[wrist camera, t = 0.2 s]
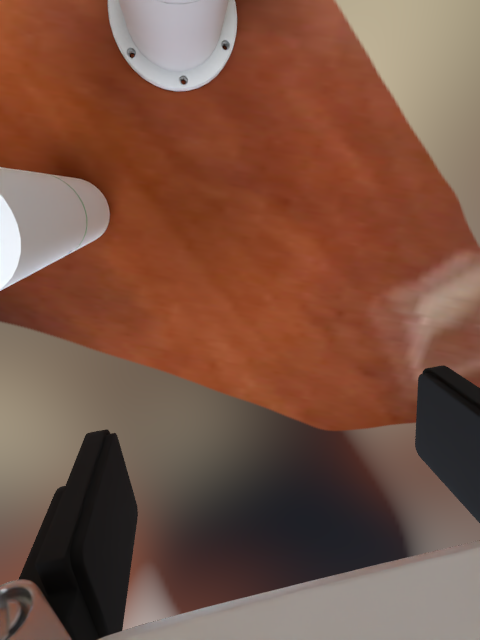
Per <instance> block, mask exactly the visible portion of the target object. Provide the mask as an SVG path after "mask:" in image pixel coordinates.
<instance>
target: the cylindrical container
mask: <svg viewBox="0 0 480 640" xmlns="http://www.w3.org/2000/svg"><path fill="white" fill-rule="evenodd" d="M109 219H110V211H109V206H108V203H107V200H106V199H105V197H104V195H103V194H102V193H101V191H100V190H99V189H98V188H97V187H96V186H94V185H93V184H91V183H90V182H88V181H85V180H82V179H78V178H72V177H65V176H58V175H51V174H44V173H37V172H30V171H23V170H16V169H9V168H2V167H0V291H1V290H3V289H5V288H6V287H8V286H10V285H12V284H14V283H16V282H18V281H19V280H21V279H23V278H25V277H27V276H29V275H31V274H33V273H34V272H36V271H38V270H40V269H42V268H44V267H46V266H48V265H49V264H51V263H53V262H55V261H57V260H59V259H61V258H62V257H64V256H66V255H68V254H70V253H72V252H74V251H76V250H77V249H79V248H81V247H83V246H85V245H87V244H89V243H91V242H92V241H94V240H96V239H98V238H99V237H100V236H101V235H102V234H103V233H104V232H105V230H106V228H107V227H108V223H109Z"/></svg>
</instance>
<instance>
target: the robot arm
mask: <svg viewBox="0 0 480 640" xmlns="http://www.w3.org/2000/svg"><path fill="white" fill-rule="evenodd" d="M108 14H109V22H110V25H111V29H112V33H113V36H114V38H115V41H116V43H117V46H118V48H119V49H120V51H121V53H122V55H123V57H124V58H125V60H126V61H127V62H128V63H129V65H130V66H131V67H132V69H133V70H134V71H135V72H137V73H138V74H139V75H140V76H141V77H142V78H143V79H145V80H146V81H148V82H150V83H151V84H153V85H155V86H157V87H160V88H162V89H165V90H171V91H189V90H193V89H197V88H199V87H201V86H203V85H205V84H207V83H209V82H210V81H211V80H212V79H214V78H215V77H216V76H217V75H218V74H219V73H220V71H221V70H222V69H223V68H224V66H225V64H226V62H227V61H228V59H229V57H230V55H231V52H232V49H233V46H234V42H235V38H236V33H237V10H236V3H235V0H108ZM222 46H226V47H227V50H224V49H223V48H222ZM131 53H133V54H135V56H134V57H133V58H131V57H130V54H131ZM182 80H185V81H186V84H184V85H183V84H181V81H182ZM415 440H416V441H415V447H416V450H417V453H418V455H419V456H420V457H421V459H422V460H423V461H424V462H425V463H426V464H427V465H428V466H429V467H430V469H431V470H432V471H433V472H434V473H435V474H436V475H437V476H438V477H439V479H440V480H441V481H442V482H443V483H444V484H445V485H446V486H447V487H448V488H449V489H450V491H451V492H452V493H453V494H454V495H455V496H456V497H457V498H458V500H459V501H460V502H461V503H462V504H463V505H464V506H465V507H466V508H467V509H468V511H469V512H470V513H471V514H472V515H473V516H474V517H475V518H476V520H477V521H478V522H479V523H480V388H479V387H477V386H475V385H474V384H472V383H471V382H469V381H468V380H466V379H465V378H463V377H462V376H460V375H459V374H457V373H456V372H454V371H453V370H451V369H450V368H448V367H446V366H437V367H432V368H427V369H425V370H424V371H423V373H422V374H421V375H420V376H419V379H418V398H417V418H416V439H415ZM137 516H138V512H137V504H136V501H135V497H134V493H133V490H132V486H131V483H130V479H129V476H128V472H127V469H126V466H125V462H124V458H123V455H122V451H121V448H120V444H119V440H118V437H117V435H116V433H113V434H110V432H109V431H108V430H102V431H96V432H91V433H88V434H86V436H85V438H84V441H83V443H82V446H81V448H80V451H79V453H78V456H77V458H76V461H75V463H74V466H73V469H72V471H71V473H70V476H69V479H68V481H67V484H66V486H63V487H60V488H59V489H57V491H56V493H55V494H54V497H53V499H52V501H51V504H50V506H49V509H48V511H47V514H46V516H45V518H44V520H43V523H42V525H41V528H40V530H39V532H38V535H37V537H36V540H35V542H34V544H33V547H32V549H31V552H30V554H29V556H28V558H27V561H26V563H25V566H24V568H23V570H22V573H21V575H20V577H19V580H15V581H11V582H8V583H6V584H3V585H1V586H0V640H480V540H479V541H475V542H471V543H467V544H463V545H458V546H454V547H450V548H445V549H442V550H437V551H433V552H428V553H424V554H420V555H416V556H412V557H408V558H404V559H400V560H396V561H392V562H387V563H383V564H379V565H375V566H371V567H366V568H363V569H359V570H354V571H350V572H346V573H342V574H338V575H334V576H330V577H326V578H322V579H317V580H313V581H309V582H306V583H301V584H297V585H293V586H289V587H285V588H281V589H277V590H273V591H270V592H265V593H261V594H257V595H253V596H249V597H245V598H241V599H237V600H233V601H229V602H225V603H221V604H217V605H214V606H209V607H205V608H202V609H198V610H194V611H191V612H187V613H183V614H180V615H176V616H172V617H168V618H165V619H161V620H157V621H153V622H150V623H146V624H143V625H139V626H136V627H133V628H130V629H127V630H124V631H122V627H123V619H124V612H125V605H126V598H127V591H128V583H129V575H130V568H131V561H132V554H133V546H134V539H135V532H136V524H137Z"/></svg>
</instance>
